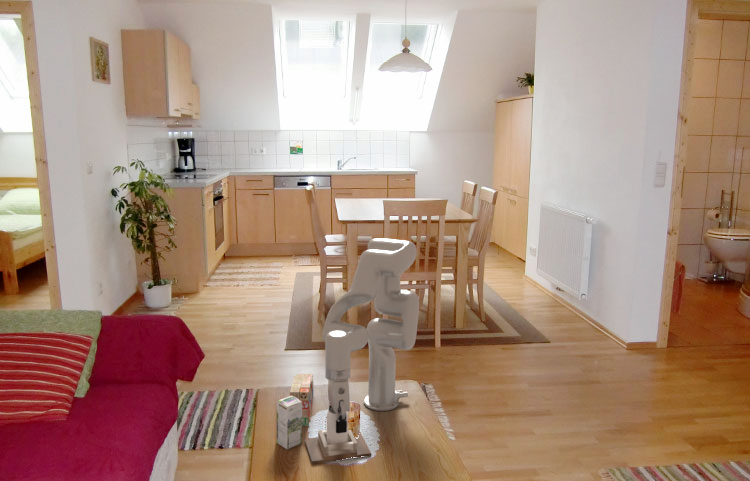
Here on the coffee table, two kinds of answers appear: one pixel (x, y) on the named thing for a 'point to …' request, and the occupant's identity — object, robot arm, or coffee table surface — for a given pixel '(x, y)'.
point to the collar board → (335, 448)
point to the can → (331, 429)
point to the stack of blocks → (303, 394)
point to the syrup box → (289, 422)
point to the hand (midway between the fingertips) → (337, 424)
